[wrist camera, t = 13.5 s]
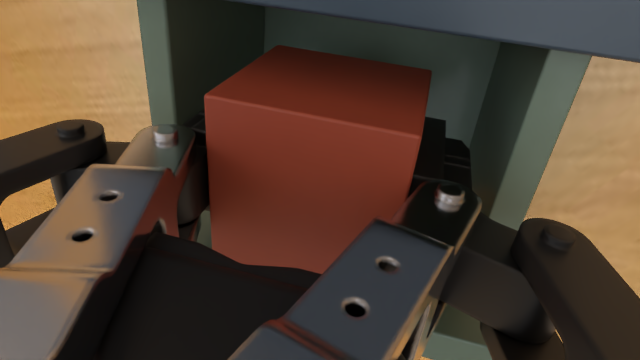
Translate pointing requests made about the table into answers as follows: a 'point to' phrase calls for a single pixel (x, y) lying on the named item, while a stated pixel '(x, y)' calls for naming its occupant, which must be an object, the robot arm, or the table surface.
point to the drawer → (396, 48)
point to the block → (309, 153)
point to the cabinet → (500, 20)
